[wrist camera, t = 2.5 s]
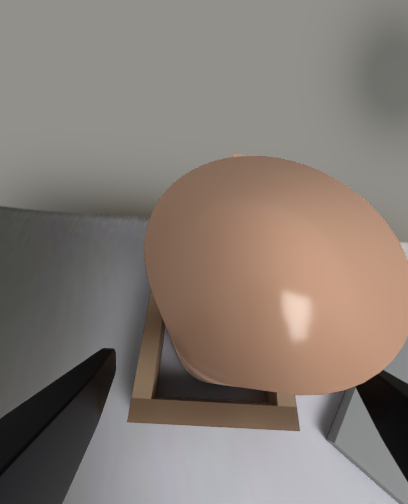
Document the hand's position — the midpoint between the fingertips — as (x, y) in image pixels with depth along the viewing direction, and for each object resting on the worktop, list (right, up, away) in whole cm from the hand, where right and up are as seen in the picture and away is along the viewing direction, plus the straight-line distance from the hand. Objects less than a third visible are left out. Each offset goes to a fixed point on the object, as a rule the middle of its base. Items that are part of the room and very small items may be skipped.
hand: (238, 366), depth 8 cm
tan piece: (0, -2, +11) cm, 11 cm away
